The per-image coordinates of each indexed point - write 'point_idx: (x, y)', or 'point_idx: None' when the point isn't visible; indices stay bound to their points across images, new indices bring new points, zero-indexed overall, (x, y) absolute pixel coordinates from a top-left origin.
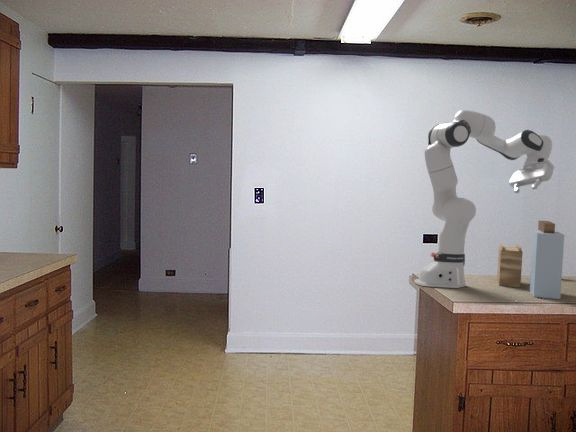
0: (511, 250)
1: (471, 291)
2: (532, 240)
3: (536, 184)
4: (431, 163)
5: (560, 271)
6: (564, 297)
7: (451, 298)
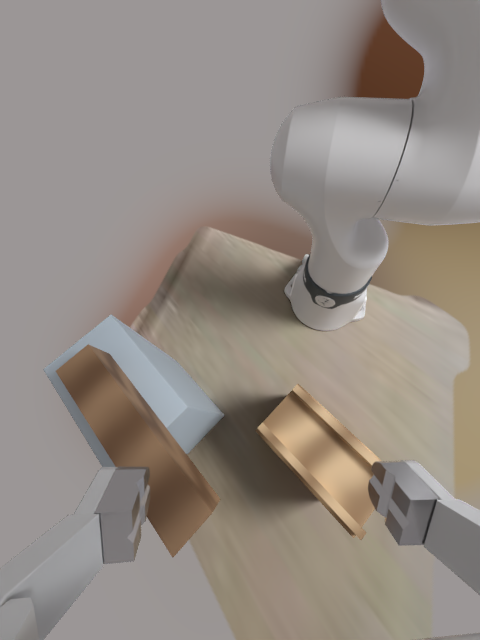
0: (286, 415)
1: (255, 295)
2: (196, 407)
3: (66, 532)
4: None
5: None
6: None
7: (223, 234)
